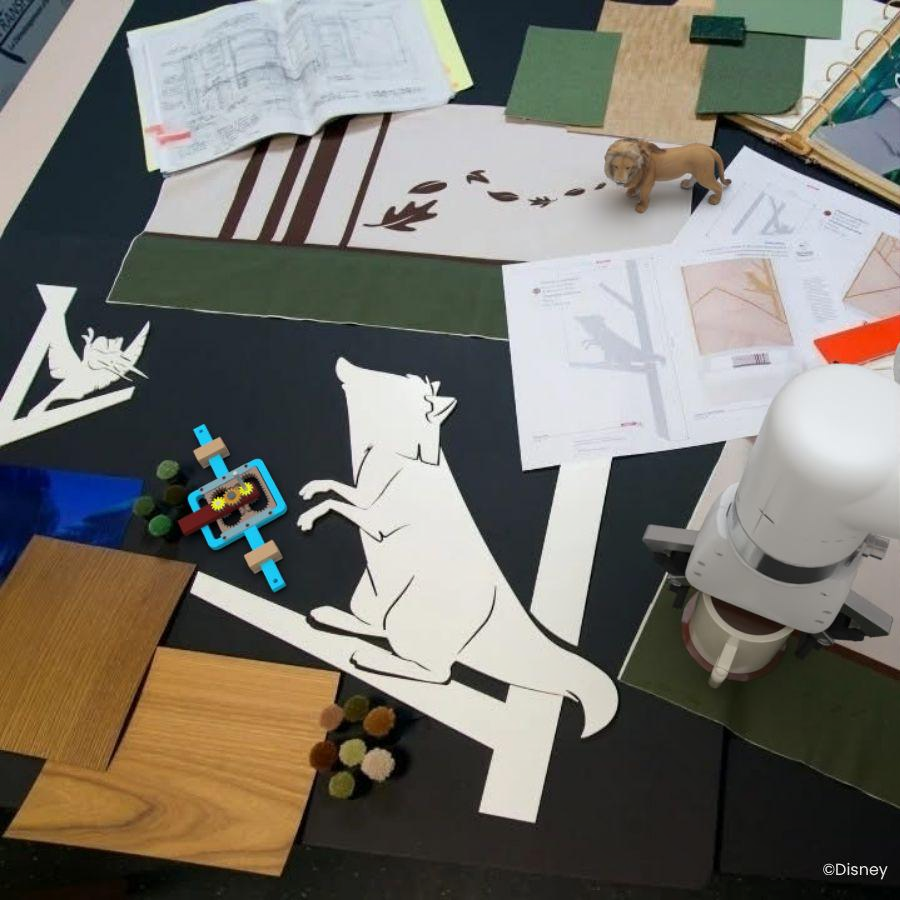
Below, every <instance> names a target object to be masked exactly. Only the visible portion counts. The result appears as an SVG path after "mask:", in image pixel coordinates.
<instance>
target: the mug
mask: <svg viewBox="0 0 900 900" xmlns="http://www.w3.org/2000/svg"><path fill="white" fill-rule="evenodd" d="M698 592H699V593H697V594H698V595H697V598H696V597H695V599H696V600H695V603H694V604H693V605H694V606H692V607H693V609H691V610H690V611H691V612H690V618H688V619H689V621H688V622H689V624H688V625H689V627H688V629H689V632H688V633H690V635H689V636H690V637H689V638H691V640H692V641H691V643H692V644H693V645H694V648H695V649H696V650H697V651H698V652H699V653H698V654H699V655H700V657H702V658H704V659H705V661H707V663H708V662H709V664H711V665H713V670H712V671H711V673H710V675H709V677H708V679H707V683H708V685H709V686H710V688H713V689H718V688H720V687H721V686H722V685H723V683H724V681H725V680H726V677H728V676H727V675H728V672H730V673H733V674H734V673H736V674H737V673H738V674H745V673H747V674H748V673H749V674H750V672H751V673H752V672H753V673H754V671H755V672H757V670H759V669H761V668H764V666H765V667H766V665H767V666H768V664H769V663H770V662H772V659H773V658H774V659H775V658H776V654H777V653H778V654H779V651H780V650H781V649H780V648H782V647H783V646H784V645H783V644H784V643H785V644H786V643H787V642H786V641H788V640H789V637H790V636H791V635H792V633H793V632H794V631H795V629H794V628H791V627H789V626H786V625H784V624H781V623H778V622H776V621H773V620H771V619H768V618H766V617H763V616H760V615H758V614H755V613H753V612H750V611H748V610H745V609H743V608H740V607H738V606H735V605H733V604H730V603H728V602H726V601H723V600H721V599H718V598H716V597H713V596H711V595H709V594H706V593H704V592H702V591H700V590H698ZM787 639H788V640H787ZM696 650H695V651H696ZM778 654H777V655H778ZM704 659H703V660H704ZM774 659H773V660H774ZM761 670H762V669H761ZM759 671H760V670H759Z"/></svg>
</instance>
